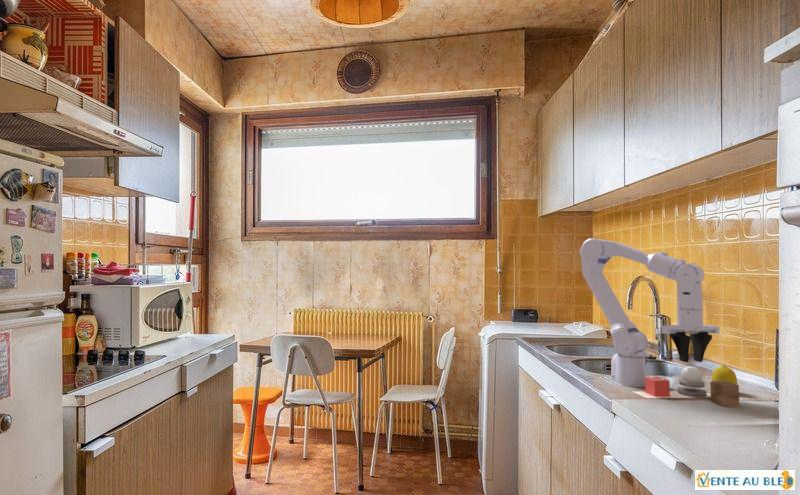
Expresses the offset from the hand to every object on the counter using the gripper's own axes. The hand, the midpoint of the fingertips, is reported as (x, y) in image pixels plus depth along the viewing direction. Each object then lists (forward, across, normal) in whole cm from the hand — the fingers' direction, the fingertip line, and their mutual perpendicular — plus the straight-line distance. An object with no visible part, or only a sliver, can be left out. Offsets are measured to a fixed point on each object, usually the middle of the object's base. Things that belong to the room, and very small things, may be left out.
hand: (691, 361), depth 122 cm
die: (+8, -10, 0) cm, 13 cm away
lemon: (+10, +10, +2) cm, 14 cm away
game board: (+9, -5, -5) cm, 12 cm away
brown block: (+10, +2, -9) cm, 13 cm away
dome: (+6, 0, 0) cm, 6 cm away
